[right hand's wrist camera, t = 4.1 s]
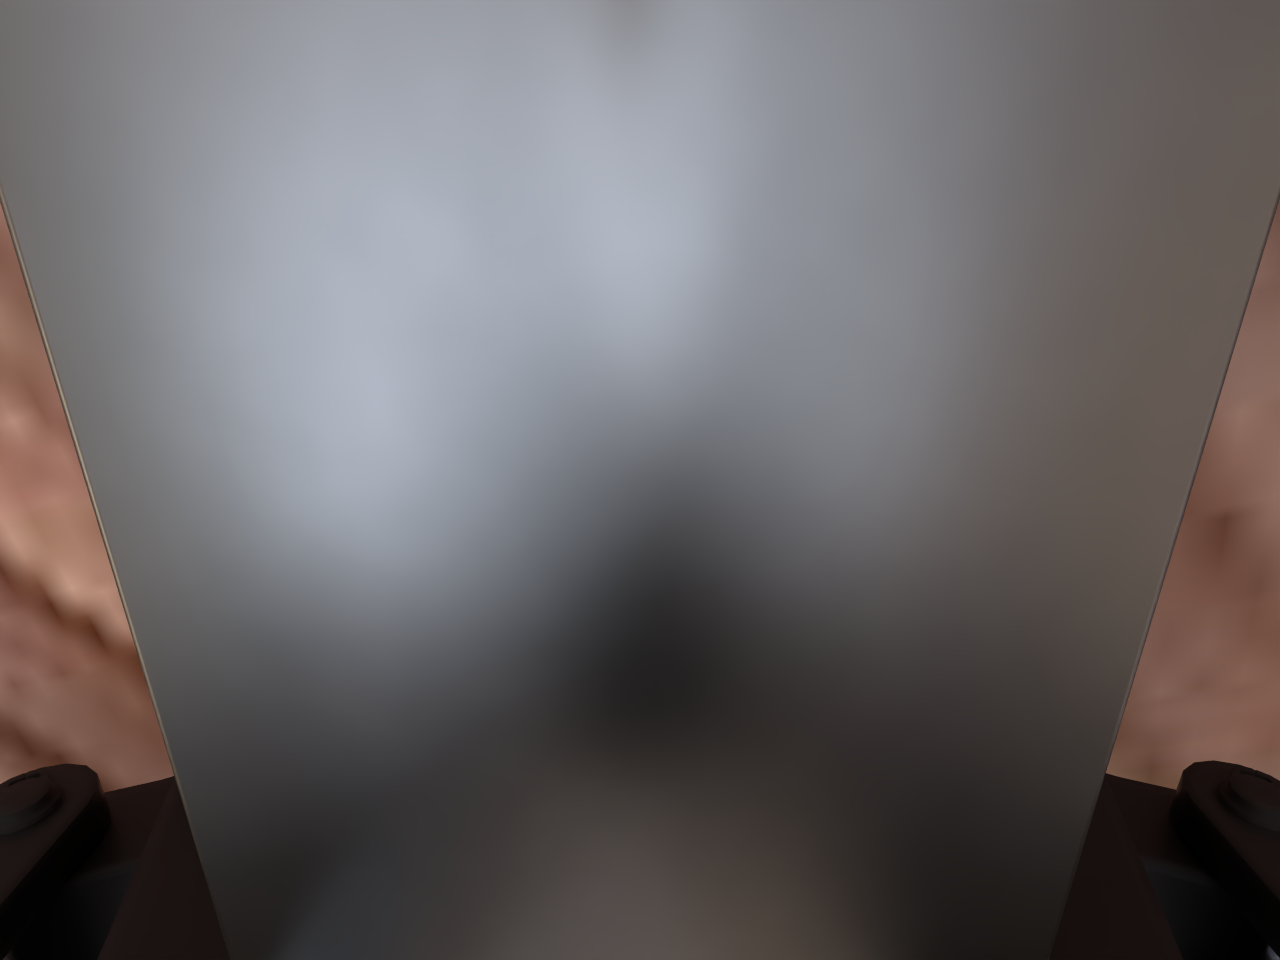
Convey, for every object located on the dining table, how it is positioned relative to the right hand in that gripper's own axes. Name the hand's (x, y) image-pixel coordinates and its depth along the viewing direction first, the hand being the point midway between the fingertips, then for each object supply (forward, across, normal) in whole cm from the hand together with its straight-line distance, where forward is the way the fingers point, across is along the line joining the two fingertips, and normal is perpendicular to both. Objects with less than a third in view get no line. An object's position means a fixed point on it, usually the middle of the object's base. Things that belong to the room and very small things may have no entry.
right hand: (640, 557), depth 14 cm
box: (+2, 0, -8) cm, 9 cm away
